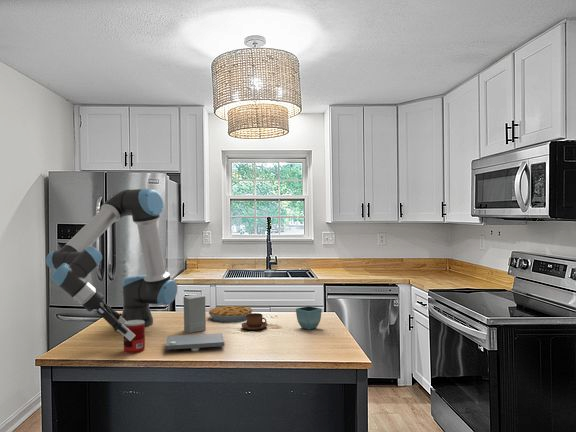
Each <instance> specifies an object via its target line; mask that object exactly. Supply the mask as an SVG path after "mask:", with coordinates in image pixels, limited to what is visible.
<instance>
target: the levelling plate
mask: <svg viewBox="0 0 576 432" xmlns="http://www.w3.org/2000/svg"><path fill="white" fill-rule="evenodd" d="M225 346H226V345H225V339H224V336H223V333H222V332H220V333H219V332H217V333H215V332H214V333H199V334H197V333H196V334H183V335H182V334H181V335H180V334H179V335H167V336H166V342H165V350H166V351H167V350H168V351H169V350H181V349H182V350H183V349H191V350H190V351H191V352H199V351H200V348H201V349H202V348H215V347H216V348H217V347H225Z"/></svg>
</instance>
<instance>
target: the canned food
mask: <svg viewBox="0 0 576 432" xmlns="http://www.w3.org/2000/svg"><path fill="white" fill-rule="evenodd" d="M124 326H125V327H127V328H128V329H129V330H130V331H131V332H132V333H134V334H135V335H136V336H135V337H134V338H133V339H132V340H131V341H129V340H128V339H127V338H126V337H125V336H123V351H124V353H127V354H138V353H141V351H142V352H143V351H144V350H145V349H146V341H145V339H146V331H145V330H146V329H145V328H146V327H145V322H144V321H143V320H130V321H126V322H124ZM137 352H138V353H137Z"/></svg>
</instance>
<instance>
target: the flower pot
mask: <svg viewBox="0 0 576 432" xmlns="http://www.w3.org/2000/svg"><path fill="white" fill-rule="evenodd" d="M322 310H323V308H321V307H316V306H311V305H306V306H301V307H296V308H295V314H296V319H297V322H298V324H299V327H301V328H302V329H305V330H313V329H317V328H318V326H319V325H320V323H321V318H322V312H323V311H322Z"/></svg>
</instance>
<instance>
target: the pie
mask: <svg viewBox="0 0 576 432" xmlns="http://www.w3.org/2000/svg"><path fill="white" fill-rule="evenodd" d="M251 313H253V309H252V308H251V307H246V306H244V305H243V306H241V305H223V306H222V305H221V306H220V307H219V306H215V308H211V309H210V310H209V311H208V315H210V318H211V320H212V321H215V322H223V323H224V322H225V323H232V322H235V323H237V322H241V321H247V319H246V315H247V314H251Z"/></svg>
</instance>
